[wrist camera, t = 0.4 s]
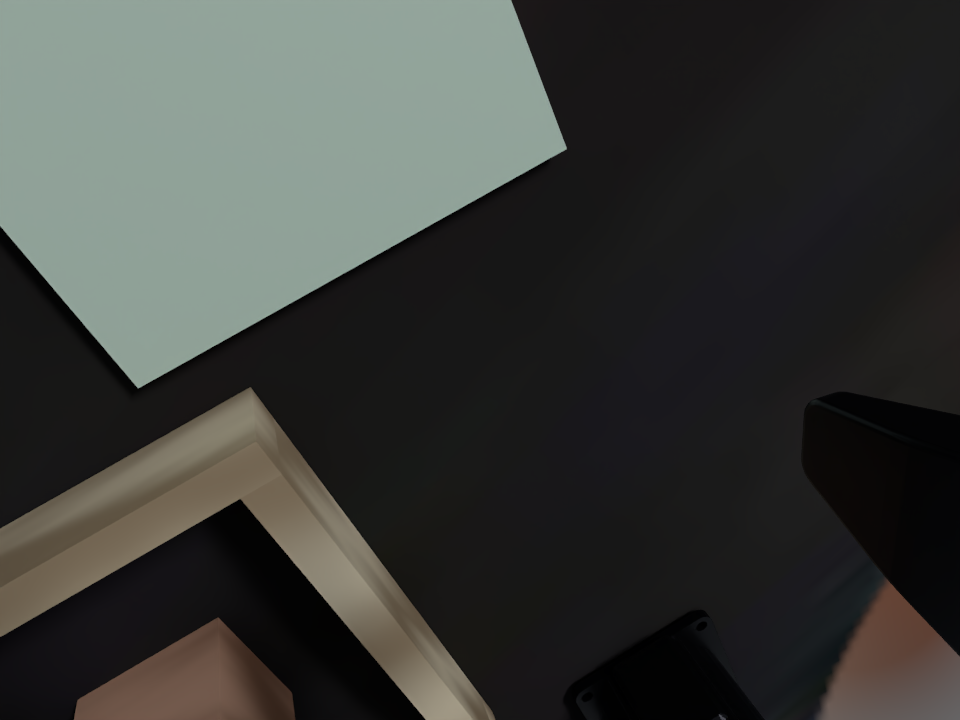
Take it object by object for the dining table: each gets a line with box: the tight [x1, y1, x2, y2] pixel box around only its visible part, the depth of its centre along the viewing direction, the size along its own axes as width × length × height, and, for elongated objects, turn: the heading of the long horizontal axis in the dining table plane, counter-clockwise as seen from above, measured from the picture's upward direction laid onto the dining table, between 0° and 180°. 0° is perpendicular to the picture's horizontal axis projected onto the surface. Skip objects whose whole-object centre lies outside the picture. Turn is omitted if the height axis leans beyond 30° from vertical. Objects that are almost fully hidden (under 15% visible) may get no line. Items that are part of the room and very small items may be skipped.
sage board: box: [0, 0, 567, 388], centre depth 17 cm, size 13×13×1 cm
